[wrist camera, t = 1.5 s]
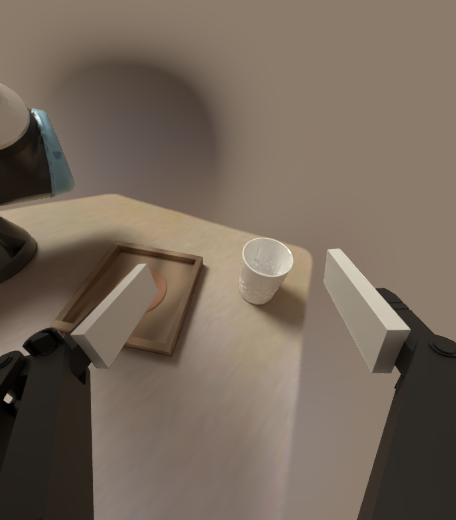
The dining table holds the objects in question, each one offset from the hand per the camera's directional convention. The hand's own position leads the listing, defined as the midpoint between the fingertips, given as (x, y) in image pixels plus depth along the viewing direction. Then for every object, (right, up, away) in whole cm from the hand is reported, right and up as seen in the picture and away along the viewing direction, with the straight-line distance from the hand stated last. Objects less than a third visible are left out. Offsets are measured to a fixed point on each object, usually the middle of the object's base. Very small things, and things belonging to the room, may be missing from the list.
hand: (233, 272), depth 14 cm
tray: (-16, -5, +21) cm, 27 cm away
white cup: (+5, -5, +23) cm, 24 cm away
